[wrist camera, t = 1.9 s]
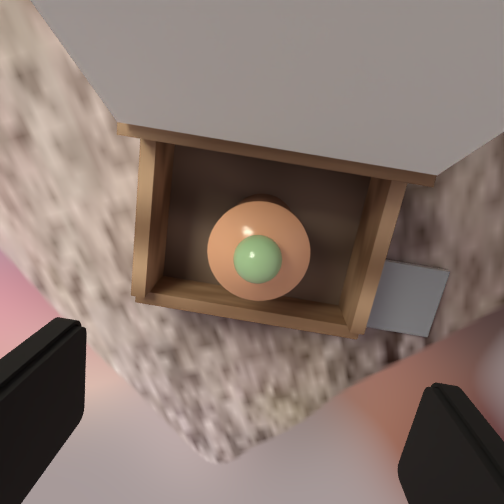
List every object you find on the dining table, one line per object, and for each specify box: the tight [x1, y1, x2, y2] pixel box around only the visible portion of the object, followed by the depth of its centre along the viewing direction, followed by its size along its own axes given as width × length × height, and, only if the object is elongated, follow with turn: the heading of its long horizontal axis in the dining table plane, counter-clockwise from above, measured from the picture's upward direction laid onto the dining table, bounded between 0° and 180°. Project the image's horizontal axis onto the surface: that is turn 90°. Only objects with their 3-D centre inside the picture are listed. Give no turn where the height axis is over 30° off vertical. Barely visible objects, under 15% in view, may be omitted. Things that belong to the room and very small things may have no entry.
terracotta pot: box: [207, 194, 310, 301], centre depth 23 cm, size 6×6×10 cm
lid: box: [31, 0, 504, 175], centre depth 11 cm, size 13×16×1 cm
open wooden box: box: [117, 122, 437, 339], centre depth 17 cm, size 20×17×22 cm
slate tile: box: [366, 259, 450, 337], centre depth 29 cm, size 6×6×1 cm
